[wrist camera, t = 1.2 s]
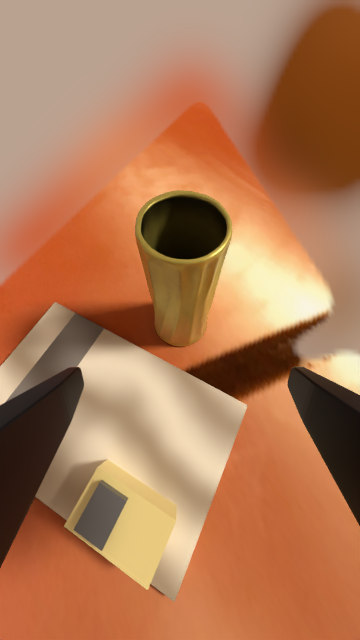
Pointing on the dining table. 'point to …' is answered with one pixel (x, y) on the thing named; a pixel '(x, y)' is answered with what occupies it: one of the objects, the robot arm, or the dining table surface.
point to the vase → (182, 260)
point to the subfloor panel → (129, 425)
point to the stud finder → (124, 521)
